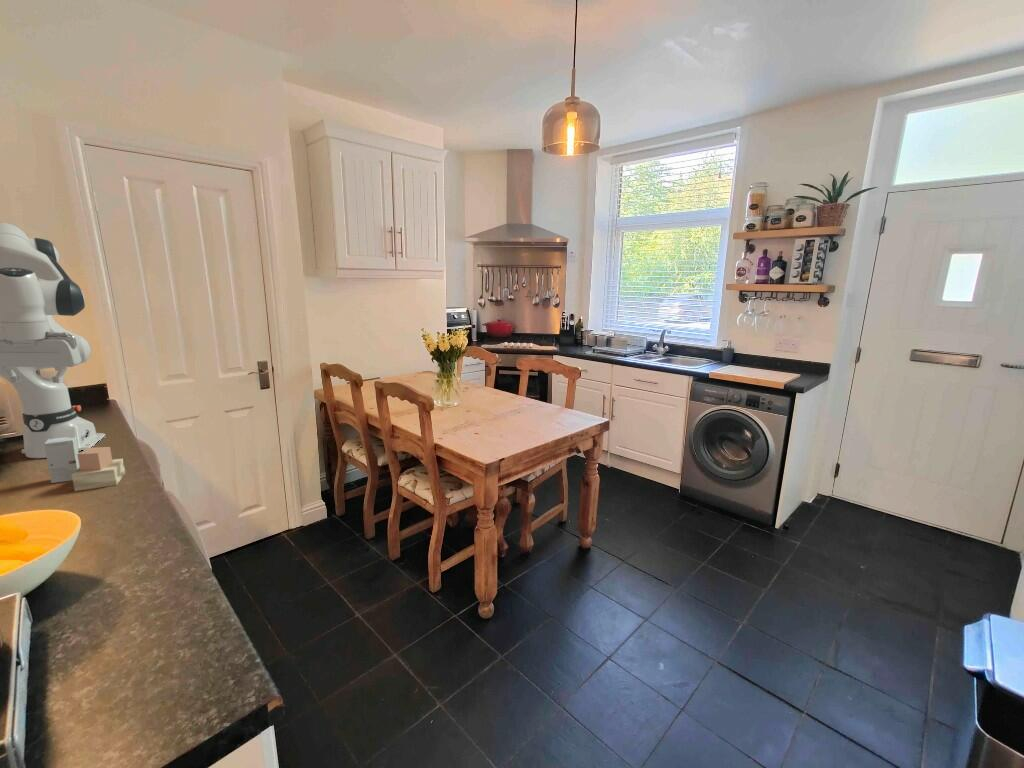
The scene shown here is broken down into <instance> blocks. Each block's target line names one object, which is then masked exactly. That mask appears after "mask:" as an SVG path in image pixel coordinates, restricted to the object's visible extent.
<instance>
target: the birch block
mask: <svg viewBox="0 0 1024 768" xmlns="http://www.w3.org/2000/svg"><path fill="white" fill-rule="evenodd" d="M112 461H113V463H112V464H110V465H109V466H107V467H105V468H103V469H102V470H88V471H80V467H79V468H78V469H77V470H76V471H75V472H74V473H73V474H72V480H71V481H72V484H73V489H74V491H75V492H77V491H84V490H92V489H98V488H105V487H112V486H117V485H119V483H118V482H121V480H122V478H123V477H124V476H123V475H125V474H126V469H125V464H124V458H114V459H112Z"/></svg>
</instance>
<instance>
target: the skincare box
mask: <svg viewBox="0 0 1024 768" xmlns="http://www.w3.org/2000/svg"><path fill="white" fill-rule="evenodd" d="M44 445H45V450H46V456H47V458H46V462H47V466H48V472H49V477H50V483H51V484H56V483H63V482H69V481H73V480H72V474H73V473H74V472H75V471H76V470H77V469H78V468H79V467H80V466H79V461H78V456H77V454H78V453H79V451H78V447H77V440H76V436H74V437H63V438H55V439H48V440H47V441H46V442H45V444H44Z"/></svg>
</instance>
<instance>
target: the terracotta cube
mask: <svg viewBox="0 0 1024 768" xmlns="http://www.w3.org/2000/svg"><path fill="white" fill-rule="evenodd" d="M77 456H78V461H79V466H80V471H88V470H102V469H103V468H105V467H107V466H109V465H110V464H112V463H113V461H112V460H113V457H112V451H111V446H98V447H94V446H93V447H92V448H88V449H86V450H83V451H79V452H78V454H77Z"/></svg>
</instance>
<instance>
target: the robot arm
mask: <svg viewBox="0 0 1024 768" xmlns="http://www.w3.org/2000/svg"><path fill="white" fill-rule="evenodd" d="M59 263H60V254H59V250H58V249H57V248H56V247H55V246H54V244H53V243H52V242H51V241H50V240H48V239H45V238H41V237H40V238H39V237H35V238H31V237H29V236H28V235H27V234H26V233H25V231H24V230H22V229H21V228H20V227H18V226H17V225H14V224H12V223H8V222H0V377H2V378H3V379H5V380H6V381H7V382H9V383H10V384H11V386H12V387H13V388H14V389H15V391H16V393H17V394H18V398H19V399H20V403H21V407H22V410H23V411H22V412H23V413H22V414H21V415H22V421H23V424H24V425H25V426H24V428H23V429H22V434H23V435H22V436H23V447H24V448H22V449H21V454H24V455H25V457H26V458H29V459H45V458H46V459H47V456H46V450H45V445H44V444H45V442H46V441H47V440H48V439H55V438H63V437H74V436H76V440H77V447H78V452H82V451H81V450H83V451H84V450H86V449H88V448H91V447H92V446H93V447H94V446H96V445H97V444H98V443H99V442H100V441H102V440H103V439H104V438H105V437H106V436H105V435H106V433H103V432H97V429H96V426H95V424H94V423H93V422H92V421H89V420H87V419H85V418H83V417H80V416H78V413H77V412H81V411H82V406H81V404H79V405H72V403H71V397H70V393H69V388H68V387H67V385H66V384H65V383H64V375H65V373H66V371H68V370H67V369H68V368H72V367H76V366H79V365H80V364H84V363H87V361H88V360H89V358H90V357H91V354H92V348H91V346H90V342H88V340H87V339H86V338H84V337H83V336H82V335H80V334H78V333H77V334H76V333H74V332H71V331H69V330H67V329H66V328H64V327H63V326H61V325H60V324H59V323H57V321H56V320H55V319H54V316H64V317H65V316H66V317H67V316H69V317H74V316H76V315H78V314H79V313H81V312H82V311H83V310H84V309H85V308H86V307H85V306H86V298H85V294H84V292H83V291H82V289H81V288H80V286H79V284H77V283H76V282H74V281H73V280H72V279H71V277H69V275H68V274H67V273H66V272H65V269H63V267H62V266H61V265H60V264H59ZM53 368H54V371H55V372H56V375H54V376H51V378H48V377H44V376H42V375H40V374H38V373H37V371H38V370H45V369H53ZM104 436H105V437H104ZM103 437H104V438H103ZM102 438H103V439H102ZM101 439H102V440H101ZM99 440H100V441H99ZM98 441H99V442H98ZM97 442H98V443H97ZM96 443H97V444H96ZM95 444H96V445H95ZM93 447H92V448H93Z"/></svg>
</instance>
